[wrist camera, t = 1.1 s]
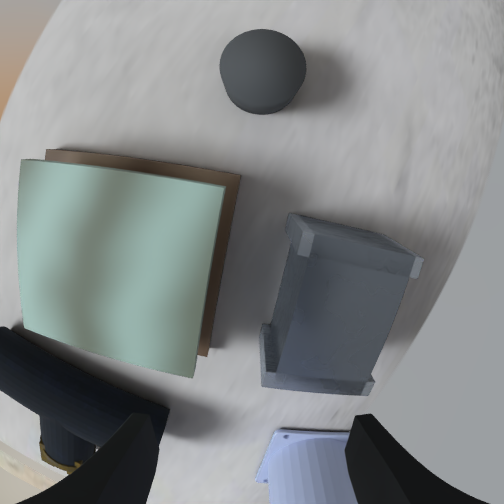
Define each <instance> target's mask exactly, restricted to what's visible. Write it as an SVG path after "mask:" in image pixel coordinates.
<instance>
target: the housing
mask: <svg viewBox="0 0 504 504" xmlns="http://www.w3.org/2000/svg"><path fill="white" fill-rule="evenodd" d="M285 231H286V233H287V235H288V237H289V239H290V241H291V245H290V249H289V253H288V257H287V262H286V266H285V270H284V274H283V278H282V282H281V286H280V290H279V294H278V298H277V302H276V306H275V310H274V313H273V317H272V321H271V325H267V324H262V328H261V332H260V336H259V342H260V364H261V386H262V387H268V388H275V389H284V390H293V391H302V392H313V393H325V394H340V395H359V396H368V395H369V393H370V392H371V390H372V388H373V385H374V383H375V381H374V379H373V377H372V375H371V373H372V370H373V368H374V366H375V364H376V362H377V359H378V357H379V355H380V353H381V350H382V348H383V346H384V343H385V341H386V338H387V336H388V334H389V331H390V329H391V326H392V324H393V321H394V318H395V316H396V313H397V311H398V308H399V305H400V302H401V300H402V297H403V294H404V291H405V288H406V286H407V283H408V280H409V277H411V278H416V279H418V276H419V273H420V270H421V267H422V264H423V261H424V258H422V257H420V256H419V255H417V254H416V253H414V252H412V251H411V250H409V249H407V248H406V247H404V246H402V245H401V244H399V243H397V242H396V241H394V240H392V239H391V238H389V237H387V236H386V235H383V234H379V233H375V232H371V231H367V230H363V229H359V228H354V227H350V226H346V225H342V224H337V223H333V222H329V221H324V220H320V219H315V218H311V217H306V216H302V215H297V214H292V213H289V215H288V219H287V224H286V228H285Z"/></svg>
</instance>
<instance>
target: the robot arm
mask: <svg viewBox="0 0 504 504" xmlns="http://www.w3.org/2000/svg"><path fill="white" fill-rule="evenodd" d="M158 455H159V447H158V443H157V440H156V436H155V433H154V429H153V426H152V422H151V418H150V415H148V414H140V413H133V414H131V415H130V417H129V418H128V419H127V420H126V421H125V422H124V423H123V424H122V425H121V427H120V428H119V429H118V430H117V431H116V432H115V433H114V434H113V435H112V436H111V437H110V438H109V439H108V441H107V442H106V443H105V444H104V445H103V446H102V447H101V448H100V449H99V450H98V451H97V452H95V453H94V454H93V455H92V456H91V457H90V458H89V459H88V460H87V461H85V462H84V463H83V464H82V465H81V466H80V467H79V468H77V469H76V470H75V471H73V472H72V473H71V474H69V475H68V476H67V477H65V478H64V479H63V480H61V481H59V482H58V483H56V484H55V485H53V486H51V487H50V488H48V489H46V490H45V491H43V492H41V493H39V494H37V495H35V496H33V497H30V498H28V499H26V500H24V501H22V502H19V503H17V504H146V501H147V498H148V495H149V492H150V489H151V485H152V482H153V479H154V476H155V472H156V467H157V461H158ZM255 481H256V482H258V483H269V503H270V504H489V503H486V502H484V501H481V500H478V499H476V498H474V497H472V496H470V495H468V494H466V493H464V492H462V491H460V490H458V489H456V488H454V487H452V486H451V485H449V484H448V483H446V482H444V481H443V480H442V479H440V478H439V477H437V476H436V475H434V474H433V473H432V472H430V471H429V470H428V469H427V468H425V467H424V466H423V465H422V464H421V463H420V462H418V461H417V460H416V459H415V458H414V457H413V456H412V455H411V454H409V453H408V452H407V451H406V450H405V449H404V448H403V447H402V446H401V445H400V444H399V443H398V442H397V441H396V440H395V439H394V438H393V437H392V435H391V434H390V433H389V432H388V431H387V430H386V429H385V428H384V427H383V426H382V425H381V424H380V423H379V421H378V420H377V419H376V418H375V417H374V416H373V415H372V414H364V415H356V416H355V418H354V421H353V425H352V428H351V431H350V432H314V431H297V430H285V429H279V430H276V431H275V432H274V434H273V436H272V439H271V441H270V444H269V446H268V449H267V451H266V454H265V456H264V458H263V461H262V463H261V466H260V468H259V470H258V473H257V475H256V477H255Z"/></svg>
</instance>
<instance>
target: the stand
mask: <svg viewBox="0 0 504 504" xmlns="http://www.w3.org/2000/svg"><path fill="white" fill-rule="evenodd" d="M240 178H241V175H236V174H231V173H226V172H220V171H215V170H209V169H203V168H198V167H192V166H186V165H179V164H173V163H166V162H160V161H153V160H146V159H139V158H131V157H123V156H115V155H107V154H98V153H88V152H79V151H68V150H56V149H46V155H45V160H38V159H23V160H21V166H20V176H19V189H18V208H17V255H18V275H19V288H20V298H21V307H22V315H23V323H24V328H25V329H28V330H30V331H33V332H36V333H38V334H41V335H43V336H46V337H49V338H51V339H54V340H57V341H60V342H62V343H65V344H68V345H71V346H74V347H77V348H80V349H83V350H86V351H89V352H92V353H96V354H99V355H102V356H105V357H109V358H112V359H116V360H119V361H123V362H126V363H130V364H134V365H137V366H141V367H145V368H149V369H153V370H157V371H161V372H166V373H170V374H174V375H179V376H184V377H188V378H193V376H194V372H195V368H196V361H197V355H200V356H205V357H207V355H208V351H209V345H210V339H211V334H212V328H213V322H214V316H215V311H216V305H217V299H218V294H219V288H220V282H221V277H222V272H223V266H224V261H225V255H226V250H227V245H228V239H229V234H230V229H231V224H232V218H233V213H234V208H235V203H236V198H237V193H238V188H239V183H240Z"/></svg>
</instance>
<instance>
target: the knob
mask: <svg viewBox="0 0 504 504" xmlns="http://www.w3.org/2000/svg"><path fill="white" fill-rule="evenodd" d="M220 74H221V78H222V80H223V83H224V86H225V89H226V92H227V94H228V96H229V98H230V99H231V101H232V102H233V103H234V104H235V105H236V106H237V107H239V108H240V109H242V110H244V111H246V112H249V113H252V114H259V115H264V114H271V113H274V112H277V111H279V110H281V109H283V108H284V107H285V106H287V105H288V104H289V103H290V101H291V100H292V99H293V97H294V96H295V94H296V93H297V91H298V90H299V88H300V87H301V85H302V83H303V81H304V79H305V75H306V61H305V58H304V55H303V53H302V51H301V49H300V48H299V46H298V45H297V44H296V43H295V42H294V41H293V40H292V39H291V38H289V37H288V36H286V35H284V34H282V33H279V32H277V31H273V30H267V29H257V30H251V31H247V32H244V33H242V34H240V35H238V36H237V37H235V38H234V39H233V40H232V41H230V42H229V44H228V45H227V46H226V47H225V49H224V51H223V53H222V55H221V59H220Z"/></svg>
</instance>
